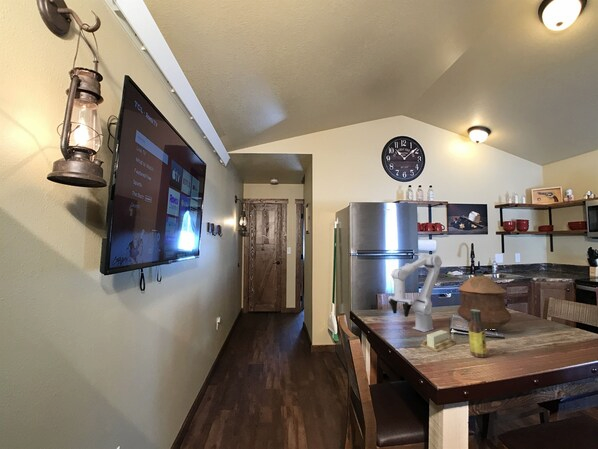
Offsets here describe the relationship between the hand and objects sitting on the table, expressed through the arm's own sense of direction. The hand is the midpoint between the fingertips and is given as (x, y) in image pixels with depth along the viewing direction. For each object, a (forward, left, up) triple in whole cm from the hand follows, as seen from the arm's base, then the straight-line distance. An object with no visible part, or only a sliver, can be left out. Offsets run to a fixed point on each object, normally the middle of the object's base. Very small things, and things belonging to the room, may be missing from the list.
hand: (400, 314), depth 146 cm
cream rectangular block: (0, +21, -9) cm, 23 cm away
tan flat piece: (0, +21, -10) cm, 23 cm away
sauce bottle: (-5, +37, -10) cm, 39 cm away
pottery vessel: (-45, +22, -10) cm, 51 cm away
